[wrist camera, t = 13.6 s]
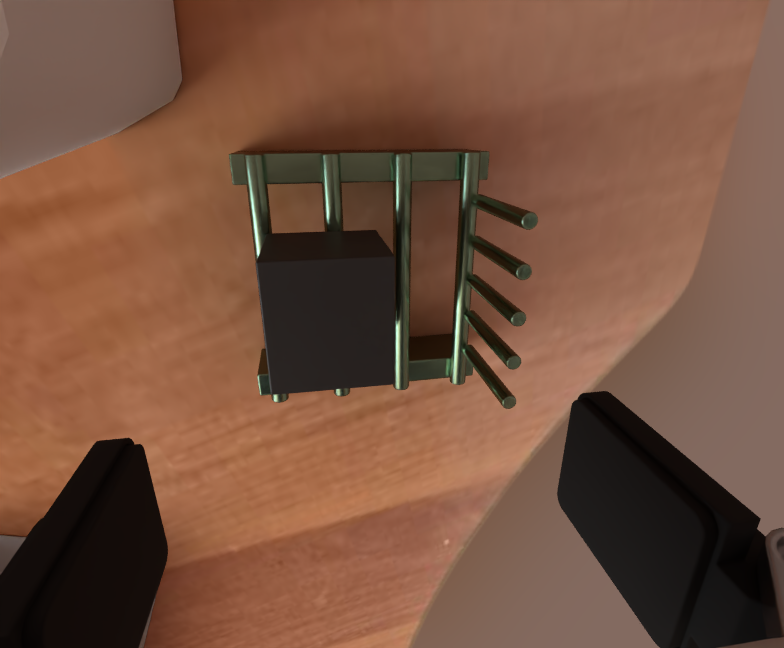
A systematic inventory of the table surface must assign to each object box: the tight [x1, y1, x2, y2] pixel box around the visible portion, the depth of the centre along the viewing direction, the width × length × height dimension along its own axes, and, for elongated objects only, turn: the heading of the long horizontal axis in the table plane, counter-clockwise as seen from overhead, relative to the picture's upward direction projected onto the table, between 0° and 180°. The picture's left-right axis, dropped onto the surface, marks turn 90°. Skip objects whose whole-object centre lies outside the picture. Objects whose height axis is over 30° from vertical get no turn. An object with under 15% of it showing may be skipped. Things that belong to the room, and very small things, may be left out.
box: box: [256, 230, 395, 395], centre depth 18 cm, size 5×5×5 cm
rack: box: [229, 149, 538, 409], centre depth 20 cm, size 11×11×9 cm
